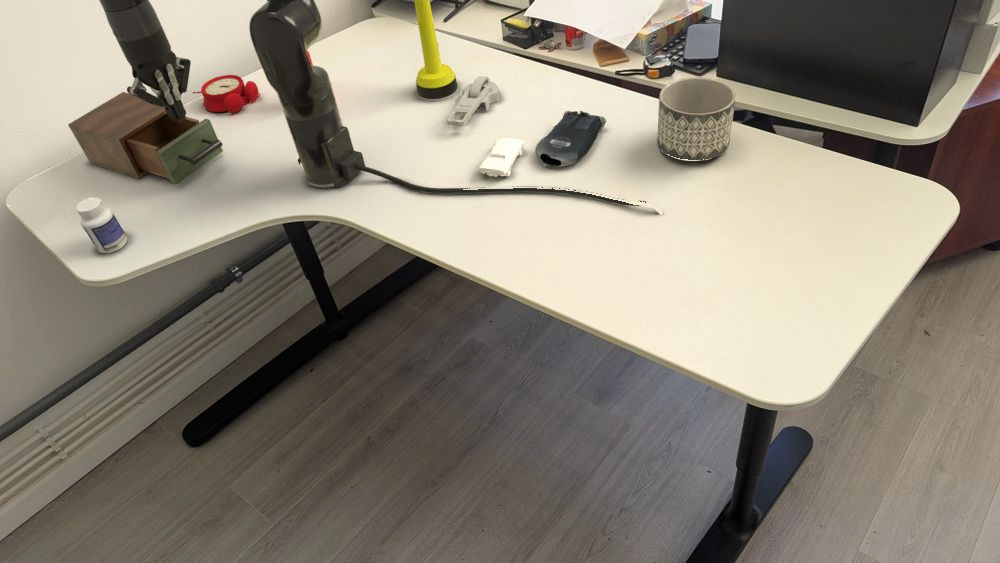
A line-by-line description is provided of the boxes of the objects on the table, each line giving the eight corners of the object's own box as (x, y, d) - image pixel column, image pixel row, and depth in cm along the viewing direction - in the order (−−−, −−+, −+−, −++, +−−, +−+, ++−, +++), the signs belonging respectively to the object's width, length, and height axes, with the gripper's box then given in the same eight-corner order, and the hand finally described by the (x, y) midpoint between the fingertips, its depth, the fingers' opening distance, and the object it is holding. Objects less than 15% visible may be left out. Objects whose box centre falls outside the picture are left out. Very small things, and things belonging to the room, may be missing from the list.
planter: (722, 171, 125) (729, 118, 118) (649, 161, 129) (651, 110, 122) (733, 132, 133) (740, 80, 126) (665, 124, 138) (668, 74, 130)
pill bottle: (134, 235, 129) (110, 195, 123) (117, 254, 126) (92, 214, 119) (108, 234, 130) (83, 194, 124) (91, 253, 127) (65, 213, 121)
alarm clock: (218, 71, 166) (260, 66, 158) (232, 96, 170) (274, 93, 161) (184, 93, 160) (226, 89, 152) (200, 118, 163) (241, 116, 155)
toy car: (527, 147, 137) (526, 131, 135) (505, 183, 129) (504, 168, 127) (500, 143, 139) (498, 128, 136) (477, 180, 131) (475, 164, 128)
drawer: (240, 156, 143) (227, 123, 138) (193, 190, 136) (178, 158, 131) (174, 137, 152) (159, 106, 147) (127, 169, 144) (109, 138, 139)
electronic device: (559, 129, 143) (526, 161, 132) (563, 103, 139) (530, 134, 129) (603, 143, 140) (573, 177, 129) (608, 117, 136) (578, 149, 126)
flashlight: (425, -17, 135) (448, -35, 141) (385, -20, 138) (408, -38, 144) (445, 103, 152) (465, 83, 158) (409, 98, 155) (429, 78, 161)
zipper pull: (438, 133, 144) (435, 114, 141) (470, 88, 156) (467, 70, 153) (475, 137, 141) (472, 118, 138) (505, 91, 153) (503, 72, 150)
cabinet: (191, 143, 151) (173, 104, 145) (139, 179, 143) (118, 139, 137) (142, 129, 157) (122, 91, 151) (90, 163, 149) (67, 124, 143)
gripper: (120, 49, 116) (166, 142, 128) (182, 15, 124) (220, 105, 136) (91, 43, 119) (138, 134, 131) (153, 10, 127) (192, 99, 139)
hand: (180, 119), depth 133 cm, fingers closed
